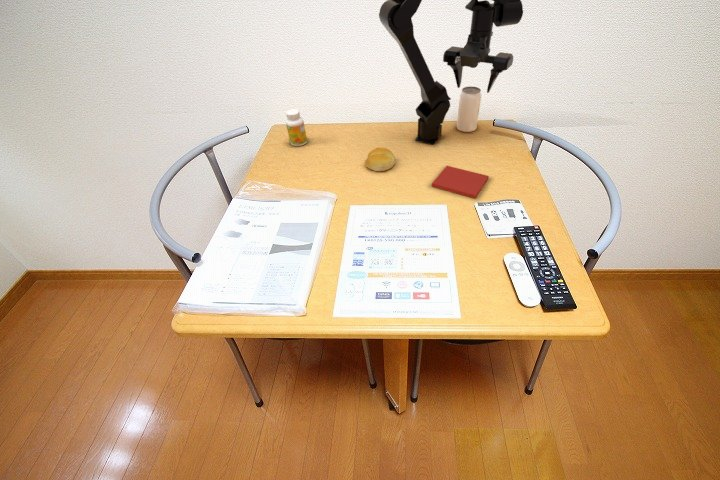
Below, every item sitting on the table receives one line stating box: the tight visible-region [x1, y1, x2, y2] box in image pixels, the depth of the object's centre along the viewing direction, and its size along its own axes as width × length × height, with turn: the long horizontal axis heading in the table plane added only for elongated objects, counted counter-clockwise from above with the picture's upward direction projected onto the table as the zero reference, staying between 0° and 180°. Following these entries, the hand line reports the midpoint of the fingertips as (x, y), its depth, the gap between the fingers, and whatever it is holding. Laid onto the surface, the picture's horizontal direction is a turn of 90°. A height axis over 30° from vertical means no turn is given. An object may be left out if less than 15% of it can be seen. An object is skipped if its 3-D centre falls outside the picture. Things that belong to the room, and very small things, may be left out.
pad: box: [431, 165, 489, 199], centre depth 96 cm, size 12×10×1 cm
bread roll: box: [364, 147, 396, 172], centre depth 103 cm, size 8×9×4 cm
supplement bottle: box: [285, 108, 308, 147], centre depth 112 cm, size 5×5×10 cm
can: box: [456, 86, 482, 133], centre depth 114 cm, size 6×6×12 cm
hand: (473, 89), depth 108 cm, fingers open, 9 cm apart
